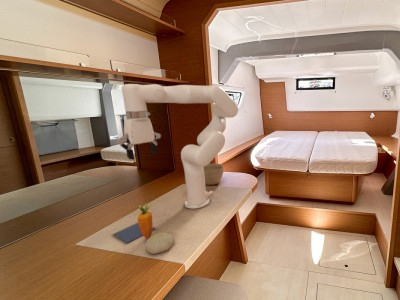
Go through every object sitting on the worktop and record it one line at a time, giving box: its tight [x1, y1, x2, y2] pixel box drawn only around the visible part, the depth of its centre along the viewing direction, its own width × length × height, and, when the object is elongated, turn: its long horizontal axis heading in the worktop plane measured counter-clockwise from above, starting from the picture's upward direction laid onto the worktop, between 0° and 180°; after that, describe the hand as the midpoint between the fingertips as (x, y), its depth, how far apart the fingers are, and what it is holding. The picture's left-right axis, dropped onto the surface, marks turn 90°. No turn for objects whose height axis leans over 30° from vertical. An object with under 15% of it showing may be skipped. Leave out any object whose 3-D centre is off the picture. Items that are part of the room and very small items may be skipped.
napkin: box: [113, 222, 156, 244], centre depth 90 cm, size 11×11×1 cm
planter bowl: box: [203, 163, 225, 186], centre depth 144 cm, size 16×16×11 cm
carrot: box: [137, 202, 153, 240], centre depth 83 cm, size 5×5×15 cm
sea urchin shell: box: [144, 232, 174, 255], centre depth 80 cm, size 9×8×8 cm
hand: (143, 156), depth 92 cm, fingers open, 9 cm apart
